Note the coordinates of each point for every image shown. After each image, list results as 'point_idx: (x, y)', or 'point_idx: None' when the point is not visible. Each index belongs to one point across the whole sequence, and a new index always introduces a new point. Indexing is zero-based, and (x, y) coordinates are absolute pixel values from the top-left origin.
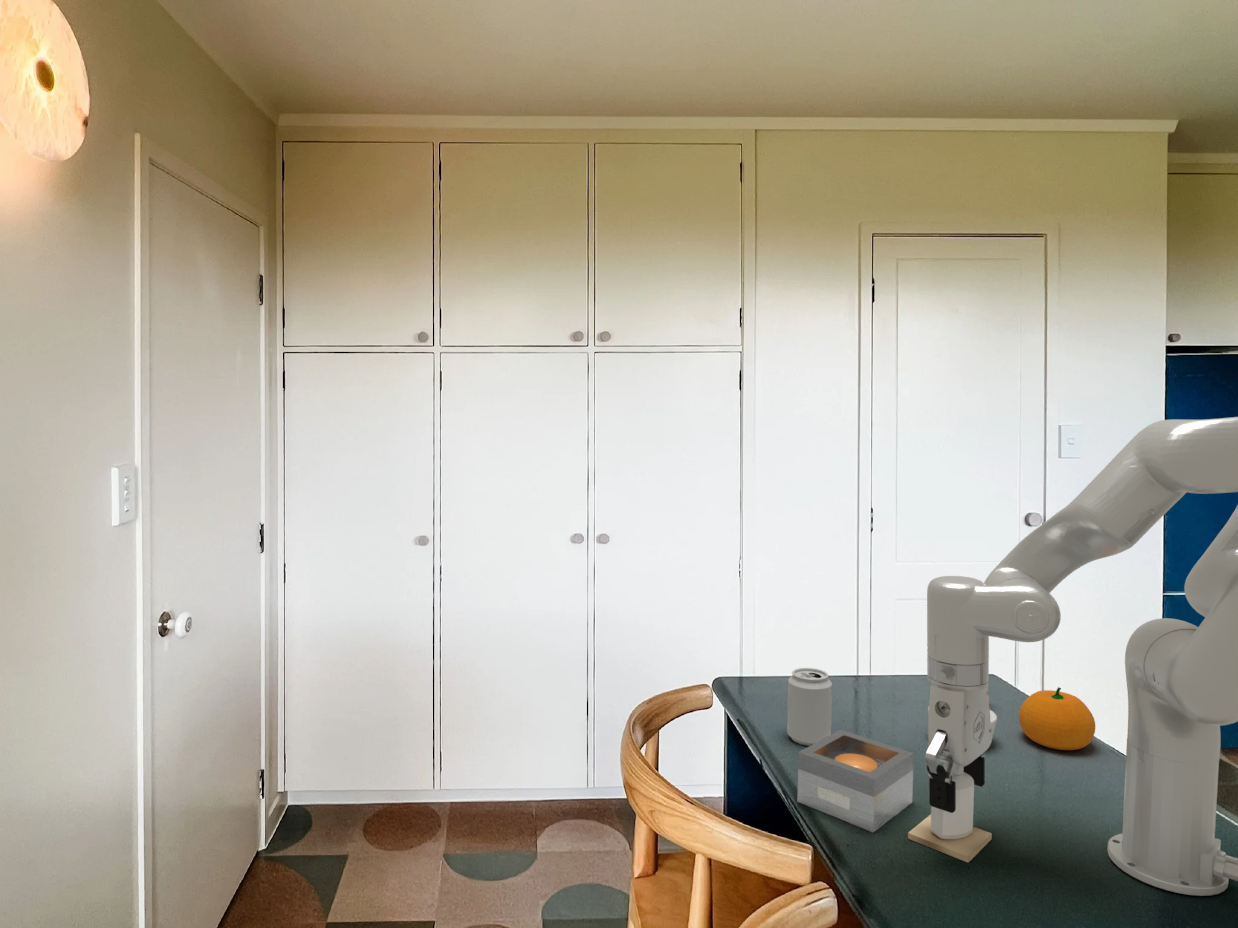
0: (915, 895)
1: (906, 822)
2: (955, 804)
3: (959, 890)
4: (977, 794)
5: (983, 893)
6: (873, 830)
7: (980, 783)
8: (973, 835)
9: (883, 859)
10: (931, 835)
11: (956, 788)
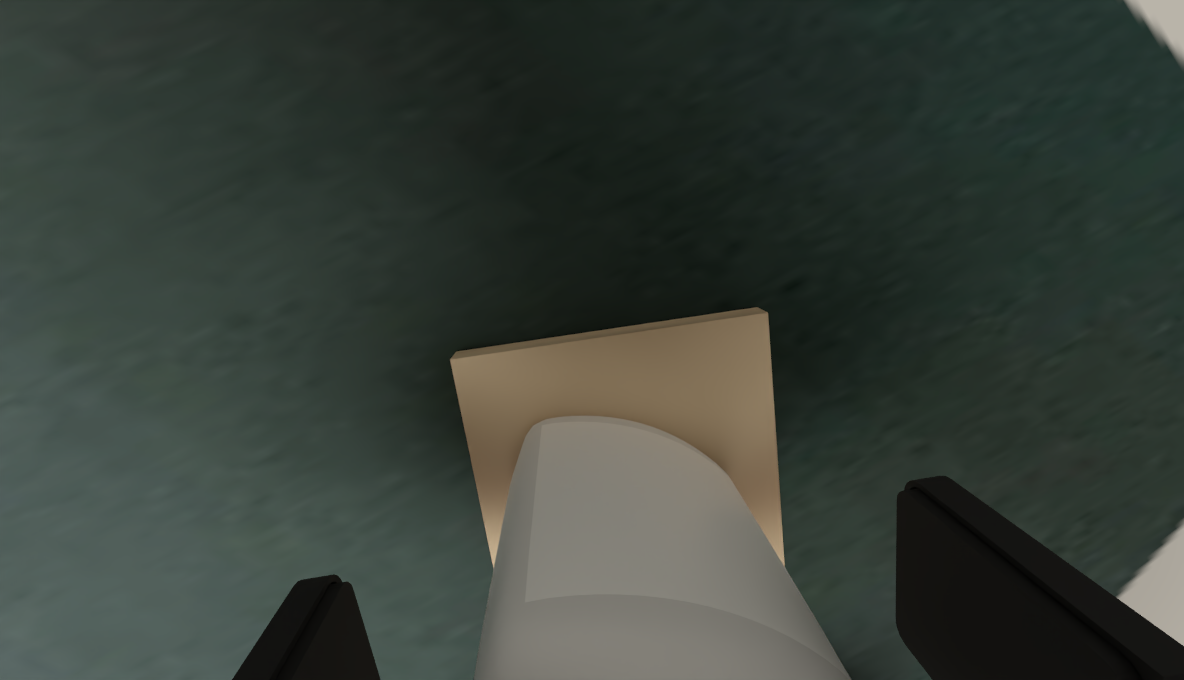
0: (1171, 307)
1: None
2: (950, 506)
3: (1005, 210)
4: (96, 619)
5: (951, 126)
6: (849, 676)
7: (343, 599)
8: (550, 404)
9: None
10: None
11: (773, 637)
